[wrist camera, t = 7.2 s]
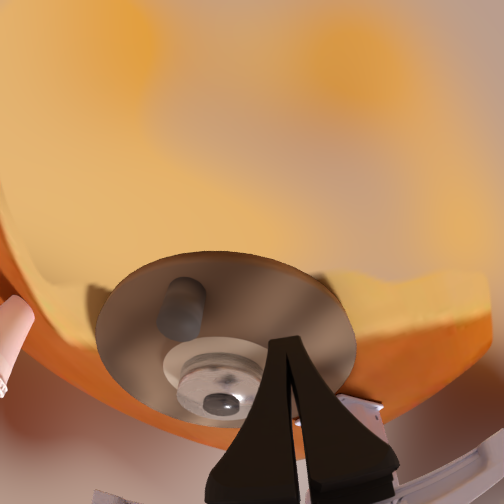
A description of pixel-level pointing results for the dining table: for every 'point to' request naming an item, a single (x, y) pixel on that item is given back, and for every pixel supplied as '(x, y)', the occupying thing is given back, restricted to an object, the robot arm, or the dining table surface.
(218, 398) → the cover
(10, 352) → the smoothie
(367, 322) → the dining table surface
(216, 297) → the turntable
